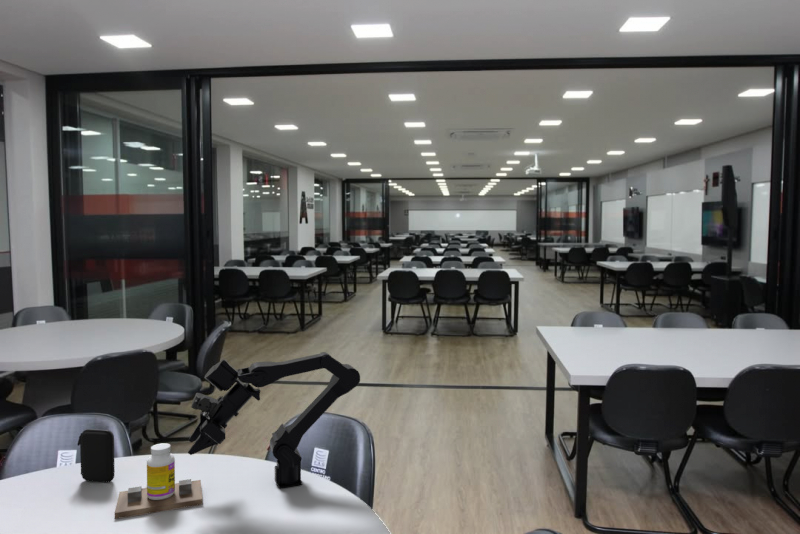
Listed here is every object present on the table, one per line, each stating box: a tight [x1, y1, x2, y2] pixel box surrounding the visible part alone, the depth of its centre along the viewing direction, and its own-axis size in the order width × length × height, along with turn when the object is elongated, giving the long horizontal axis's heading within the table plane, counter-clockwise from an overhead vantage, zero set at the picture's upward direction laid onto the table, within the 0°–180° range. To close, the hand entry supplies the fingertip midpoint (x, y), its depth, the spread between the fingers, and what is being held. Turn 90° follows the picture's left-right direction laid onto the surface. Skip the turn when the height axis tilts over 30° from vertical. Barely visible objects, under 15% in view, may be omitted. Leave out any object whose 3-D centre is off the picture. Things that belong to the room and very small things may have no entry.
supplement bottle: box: [146, 442, 176, 500], centre depth 141 cm, size 7×7×13 cm
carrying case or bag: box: [77, 428, 115, 483], centre depth 152 cm, size 11×3×15 cm, turn 83°
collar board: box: [114, 478, 203, 520], centre depth 141 cm, size 20×12×4 cm, turn 112°
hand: (189, 447), depth 143 cm, fingers open, 9 cm apart
